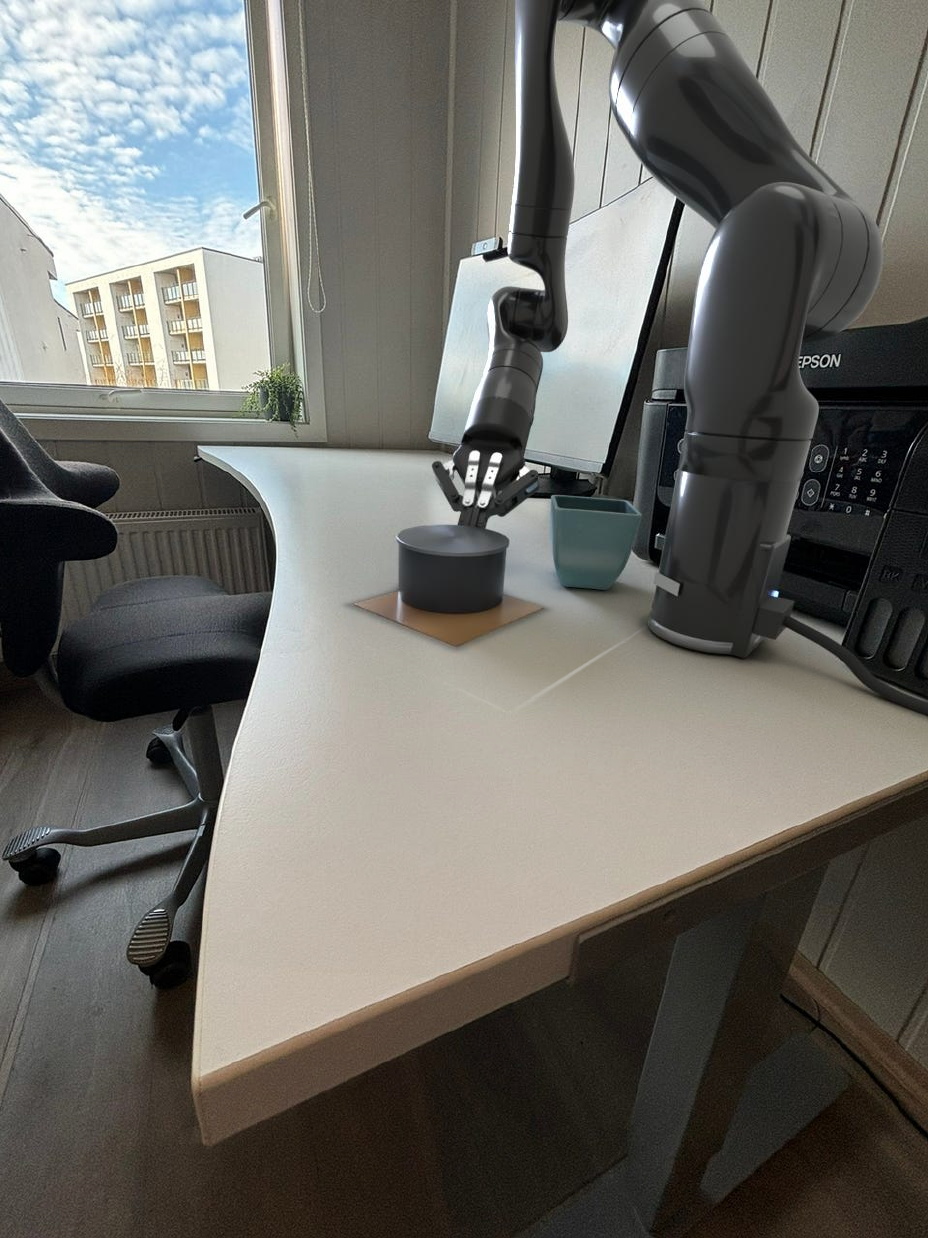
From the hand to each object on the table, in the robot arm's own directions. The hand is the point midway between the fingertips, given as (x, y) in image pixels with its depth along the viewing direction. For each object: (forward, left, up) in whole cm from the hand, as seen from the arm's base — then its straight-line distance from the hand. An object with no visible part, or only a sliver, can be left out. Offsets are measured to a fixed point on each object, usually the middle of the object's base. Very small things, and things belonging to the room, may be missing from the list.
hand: (467, 542), depth 61 cm
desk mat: (-5, +8, -4) cm, 10 cm away
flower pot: (-10, -9, -5) cm, 14 cm away
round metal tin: (-3, +5, -4) cm, 7 cm away
